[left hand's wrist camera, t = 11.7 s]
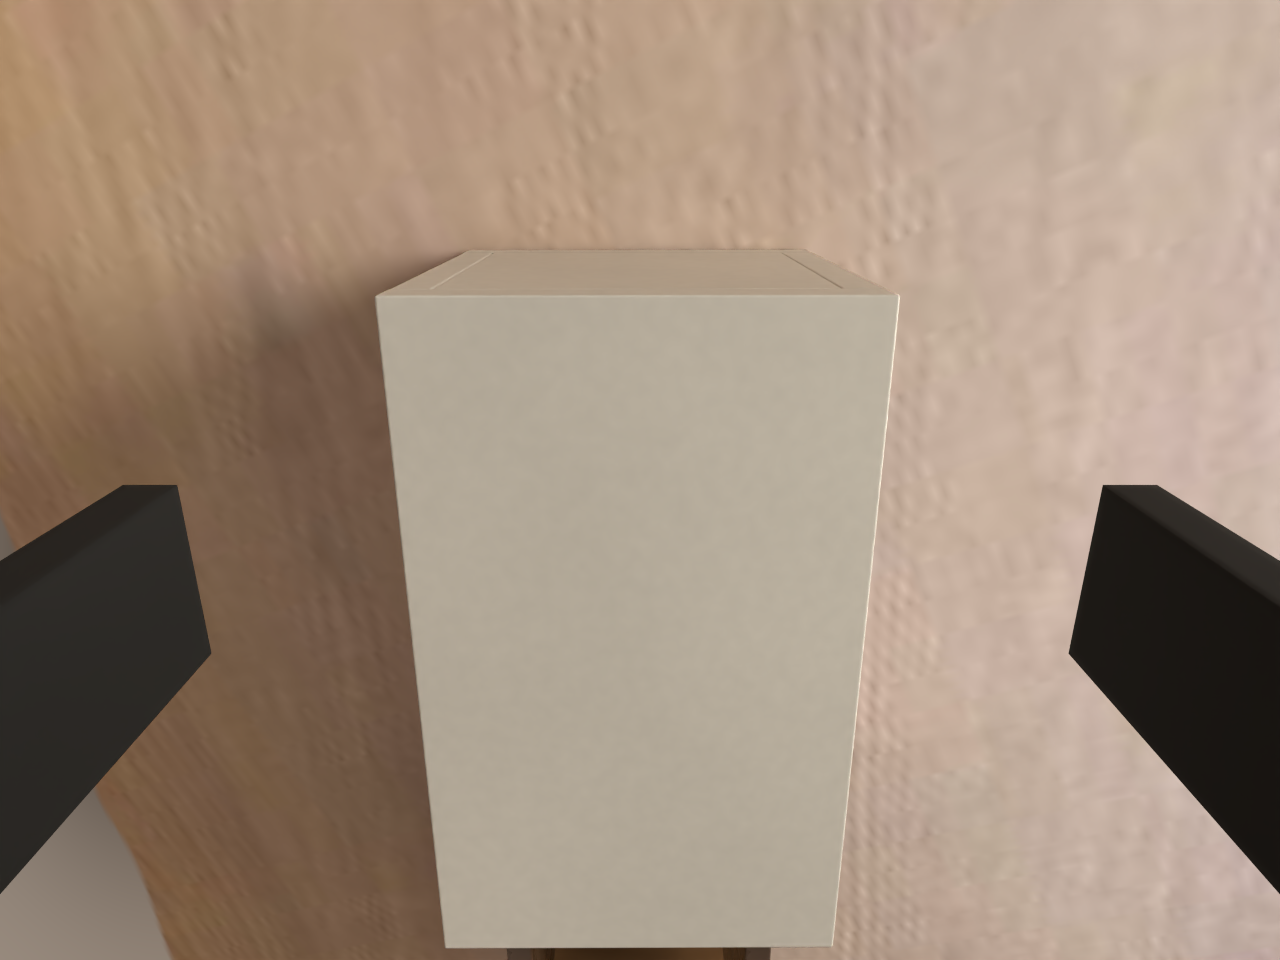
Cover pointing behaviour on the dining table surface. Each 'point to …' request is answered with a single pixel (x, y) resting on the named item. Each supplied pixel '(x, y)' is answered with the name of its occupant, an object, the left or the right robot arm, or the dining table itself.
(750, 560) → the cabinet
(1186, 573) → the left robot arm
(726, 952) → the drawer
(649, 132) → the dining table surface
